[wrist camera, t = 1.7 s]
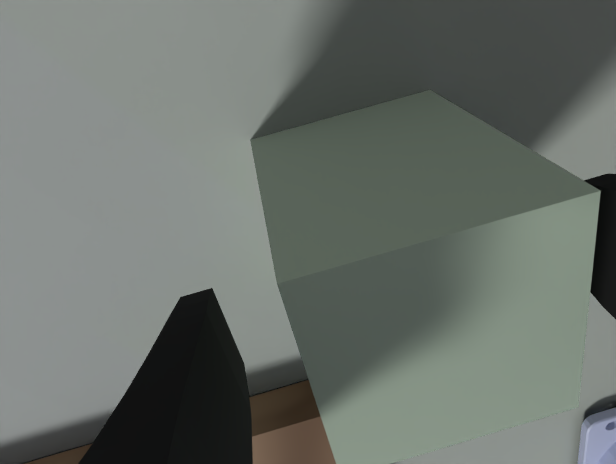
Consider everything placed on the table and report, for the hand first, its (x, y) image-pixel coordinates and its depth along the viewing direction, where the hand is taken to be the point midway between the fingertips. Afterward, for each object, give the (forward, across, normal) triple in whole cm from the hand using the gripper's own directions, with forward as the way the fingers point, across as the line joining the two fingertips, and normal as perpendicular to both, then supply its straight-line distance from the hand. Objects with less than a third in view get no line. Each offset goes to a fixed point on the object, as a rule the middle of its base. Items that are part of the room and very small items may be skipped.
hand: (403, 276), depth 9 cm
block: (+4, 0, 0) cm, 4 cm away
